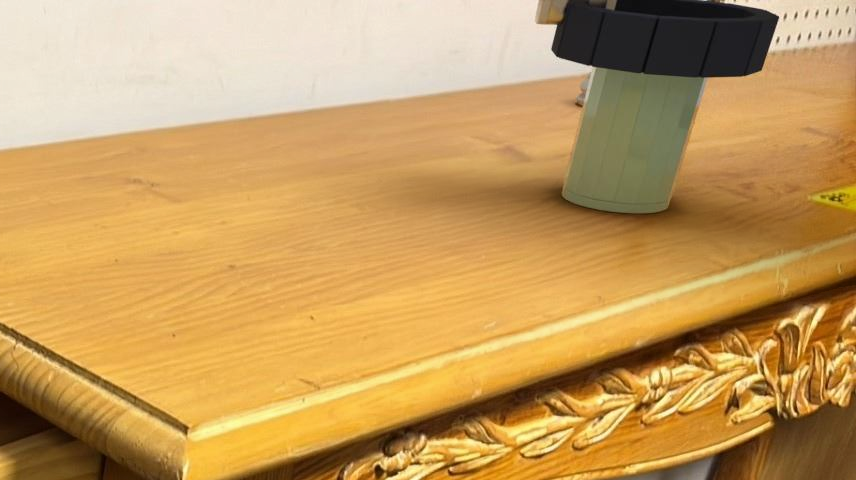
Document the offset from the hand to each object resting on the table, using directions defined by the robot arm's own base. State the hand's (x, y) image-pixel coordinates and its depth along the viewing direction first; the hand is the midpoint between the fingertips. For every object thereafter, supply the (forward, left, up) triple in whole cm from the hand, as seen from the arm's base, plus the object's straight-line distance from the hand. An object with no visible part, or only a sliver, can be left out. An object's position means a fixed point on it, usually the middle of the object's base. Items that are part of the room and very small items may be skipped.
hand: (571, 24), depth 74 cm
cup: (-5, 0, -10) cm, 11 cm away
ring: (-5, 0, -2) cm, 5 cm away
